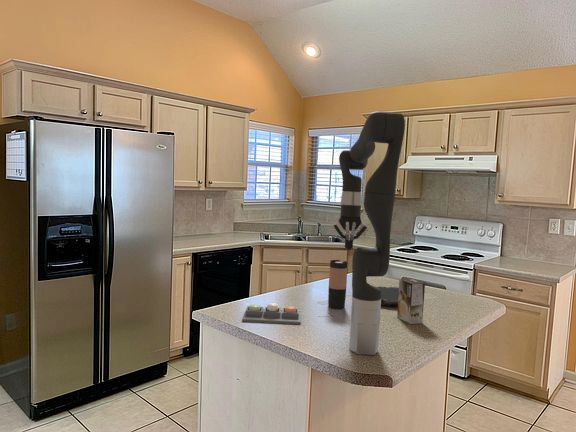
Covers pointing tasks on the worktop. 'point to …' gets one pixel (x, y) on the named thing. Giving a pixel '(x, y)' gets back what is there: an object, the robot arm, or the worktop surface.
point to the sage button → (254, 307)
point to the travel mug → (337, 284)
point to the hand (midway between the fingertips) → (348, 249)
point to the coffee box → (411, 301)
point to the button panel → (272, 316)
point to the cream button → (272, 307)
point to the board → (389, 295)
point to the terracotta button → (290, 309)
